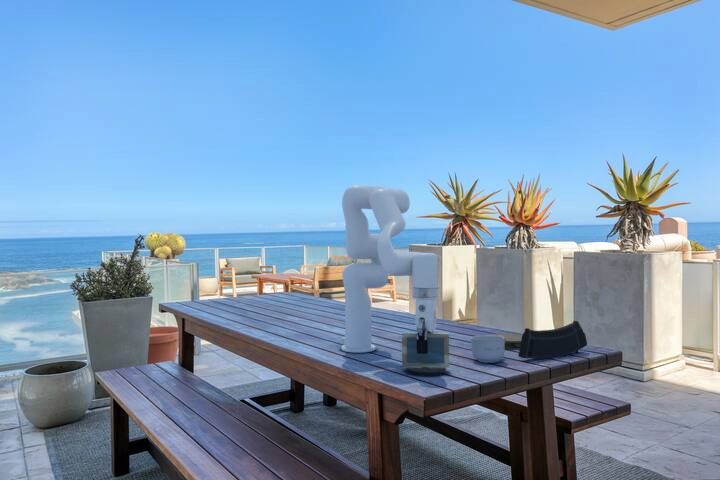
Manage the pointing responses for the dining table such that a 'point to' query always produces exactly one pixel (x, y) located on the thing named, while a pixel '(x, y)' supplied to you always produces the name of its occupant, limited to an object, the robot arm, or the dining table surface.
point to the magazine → (552, 342)
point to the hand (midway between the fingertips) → (425, 350)
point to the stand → (426, 371)
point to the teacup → (488, 348)
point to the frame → (436, 350)
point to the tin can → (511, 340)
